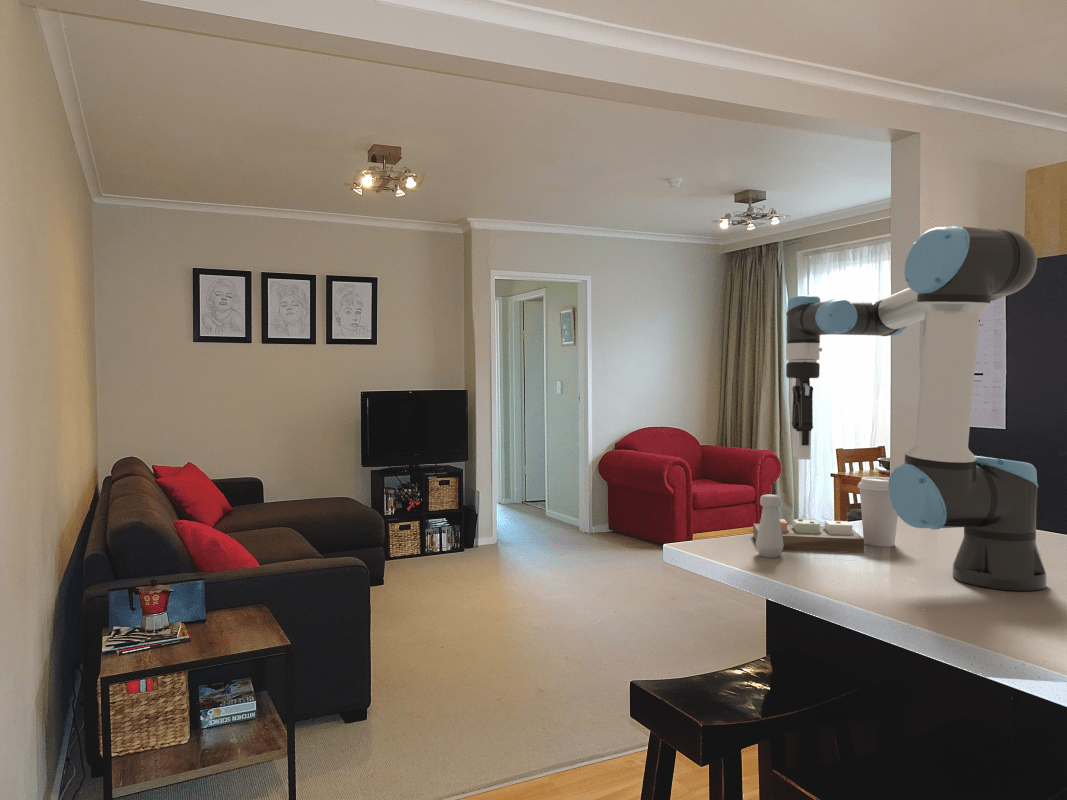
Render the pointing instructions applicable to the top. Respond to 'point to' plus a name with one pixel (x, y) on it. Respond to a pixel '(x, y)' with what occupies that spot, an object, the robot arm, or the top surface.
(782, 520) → the tile
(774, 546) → the salt shaker
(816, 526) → the pale green square block
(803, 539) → the button board
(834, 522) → the cream square block
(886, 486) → the coffee cup
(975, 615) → the top surface
